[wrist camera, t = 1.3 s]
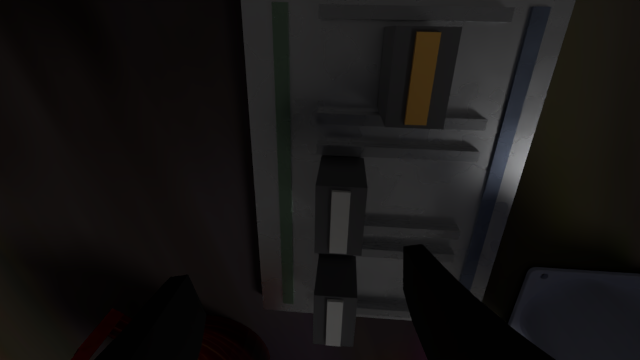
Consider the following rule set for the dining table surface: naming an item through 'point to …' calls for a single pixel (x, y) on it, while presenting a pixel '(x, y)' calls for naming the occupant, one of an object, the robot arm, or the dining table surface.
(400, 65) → the breaker
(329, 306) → the breaker
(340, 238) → the breaker
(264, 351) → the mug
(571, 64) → the dining table surface
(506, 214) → the breaker panel
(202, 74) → the dining table surface
